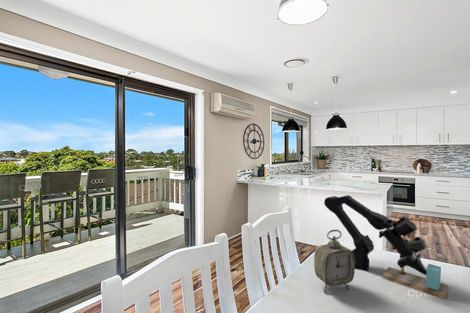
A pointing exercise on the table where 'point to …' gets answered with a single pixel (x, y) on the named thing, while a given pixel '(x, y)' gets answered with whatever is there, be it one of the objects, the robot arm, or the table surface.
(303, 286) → the table surface
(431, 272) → the block
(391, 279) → the board
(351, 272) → the tabletop clock
